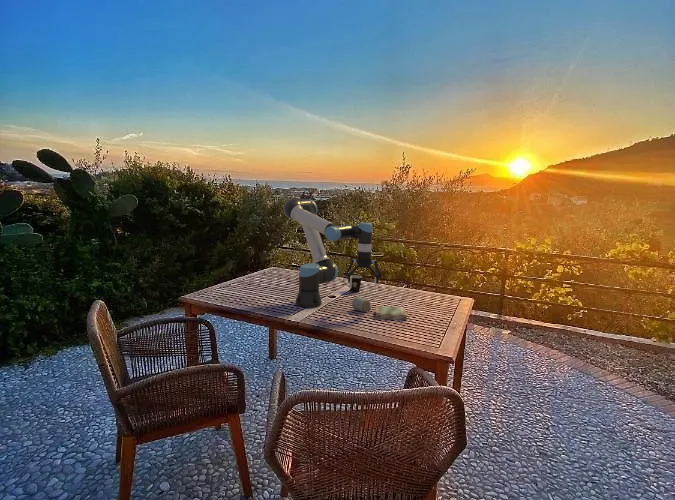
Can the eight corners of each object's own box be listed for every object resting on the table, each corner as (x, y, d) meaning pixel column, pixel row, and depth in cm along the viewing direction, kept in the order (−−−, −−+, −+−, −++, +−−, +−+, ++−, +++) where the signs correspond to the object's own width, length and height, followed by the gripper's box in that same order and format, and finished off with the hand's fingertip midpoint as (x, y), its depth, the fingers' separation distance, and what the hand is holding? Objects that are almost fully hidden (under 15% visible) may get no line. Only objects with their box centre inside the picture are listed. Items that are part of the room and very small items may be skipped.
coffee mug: (363, 290, 253) (364, 276, 251) (357, 293, 245) (357, 278, 244) (348, 288, 259) (349, 273, 257) (342, 290, 252) (342, 276, 250)
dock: (375, 318, 199) (376, 312, 198) (375, 311, 210) (376, 305, 210) (406, 320, 197) (406, 314, 197) (404, 313, 209) (404, 307, 209)
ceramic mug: (362, 314, 205) (363, 300, 204) (351, 310, 210) (352, 297, 209) (374, 310, 213) (375, 297, 212) (363, 306, 218) (364, 294, 217)
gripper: (341, 250, 203) (339, 289, 206) (387, 253, 201) (385, 291, 204) (342, 248, 211) (340, 285, 214) (387, 251, 209) (385, 288, 212)
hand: (362, 288), depth 209 cm, fingers open, 13 cm apart
